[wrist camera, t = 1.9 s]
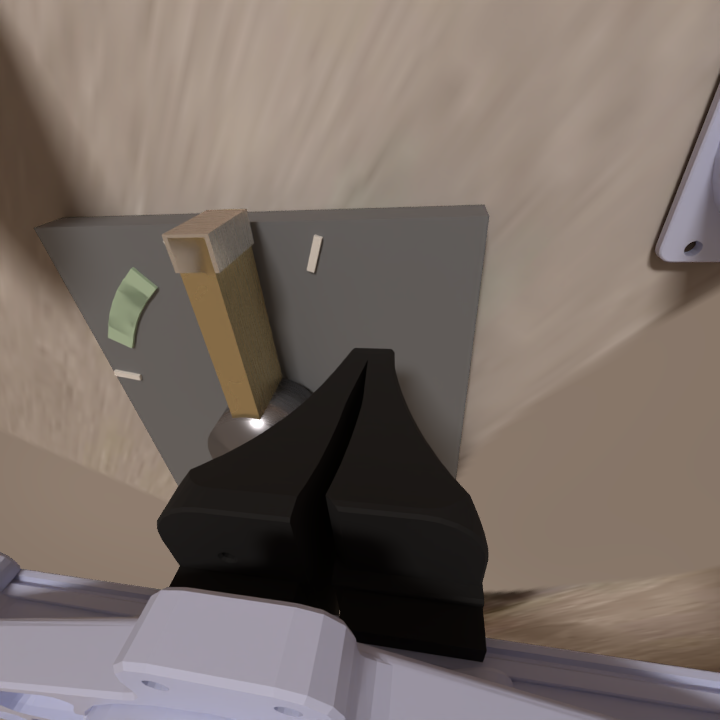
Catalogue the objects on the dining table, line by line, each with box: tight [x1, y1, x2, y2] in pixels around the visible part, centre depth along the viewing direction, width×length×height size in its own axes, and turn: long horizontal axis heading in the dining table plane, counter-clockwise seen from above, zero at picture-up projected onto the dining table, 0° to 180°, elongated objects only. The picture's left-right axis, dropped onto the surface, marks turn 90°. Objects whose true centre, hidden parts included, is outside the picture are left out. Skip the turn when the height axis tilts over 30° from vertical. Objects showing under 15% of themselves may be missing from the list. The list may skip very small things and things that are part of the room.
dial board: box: [34, 205, 489, 486], centre depth 20 cm, size 18×18×2 cm
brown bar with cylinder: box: [162, 209, 312, 459], centre depth 15 cm, size 4×12×3 cm, turn 4°
